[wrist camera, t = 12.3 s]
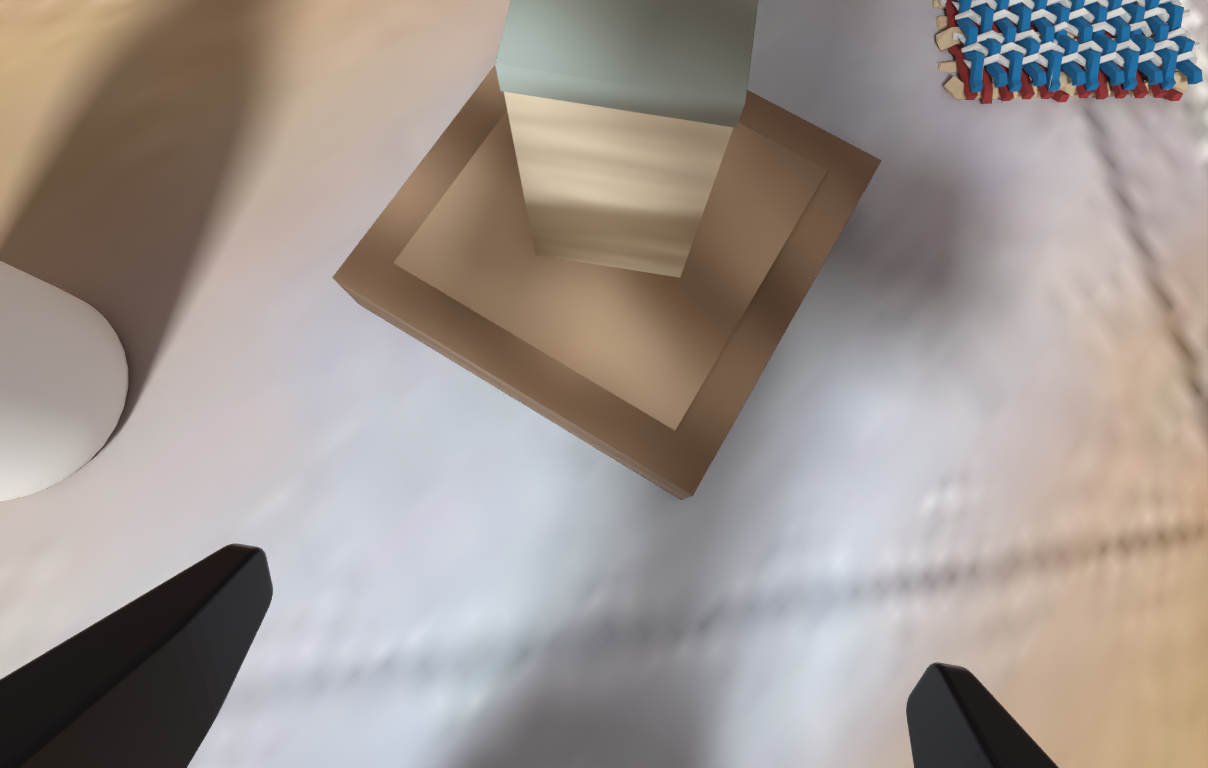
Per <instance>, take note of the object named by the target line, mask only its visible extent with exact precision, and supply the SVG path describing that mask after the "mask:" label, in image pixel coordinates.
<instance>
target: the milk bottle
mask: <svg viewBox="0 0 1208 768" xmlns="http://www.w3.org/2000/svg"><path fill="white" fill-rule="evenodd" d="M127 391H128V365H127V361H126V355H125V351H124V349H123V347H122V345H121V343H120V340H119V338H118V336H117V334H116V332H115V331H114V330H113V328H112V327H111V325H110V324H109V322H108V321H107V320H106V319H105V318H104V317H103V316H102V314H101V313H99V312H98V311H97V310H96V309H95V308H93V307H92V306H91V305H89V304H88V303H86V302H84V301H82V300H81V299H79V298H77V297H75V296H73V295H71V294H69V293H67V292H65V291H63V290H61V289H59V288H57V287H55V286H53V285H51V284H49V283H47V282H44V281H42V280H40V279H38V278H36V277H34V276H32V275H29V274H27V273H25V272H23V271H21V270H19V269H17V268H14V267H12V266H10V265H8V264H6V263H4V262H1V261H0V501H7V500H12V499H17V498H21V497H24V496H28V495H31V494H33V493H36V492H39V491H41V490H44V489H46V488H49V487H51V486H53V485H54V484H56V483H58V482H60V481H61V480H63V479H65V478H67V477H69V476H71V475H72V474H74V473H75V472H76V471H77V470H78V469H80V468H81V467H82V466H84V465H85V464H86V463H88V462H89V461H90V460H91V459H92V457H93V456H94V455H95V454H96V453H97V452H98V451H99V450H100V449H101V448H102V447H103V446H104V444H105V443H106V441H107V440H108V438H109V436H110V435H111V433H112V432H113V430H114V429H115V427H116V426H117V423H118V420H119V418H120V416H121V413H122V411H123V409H124V406H125V400H126V396H127Z"/></svg>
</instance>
